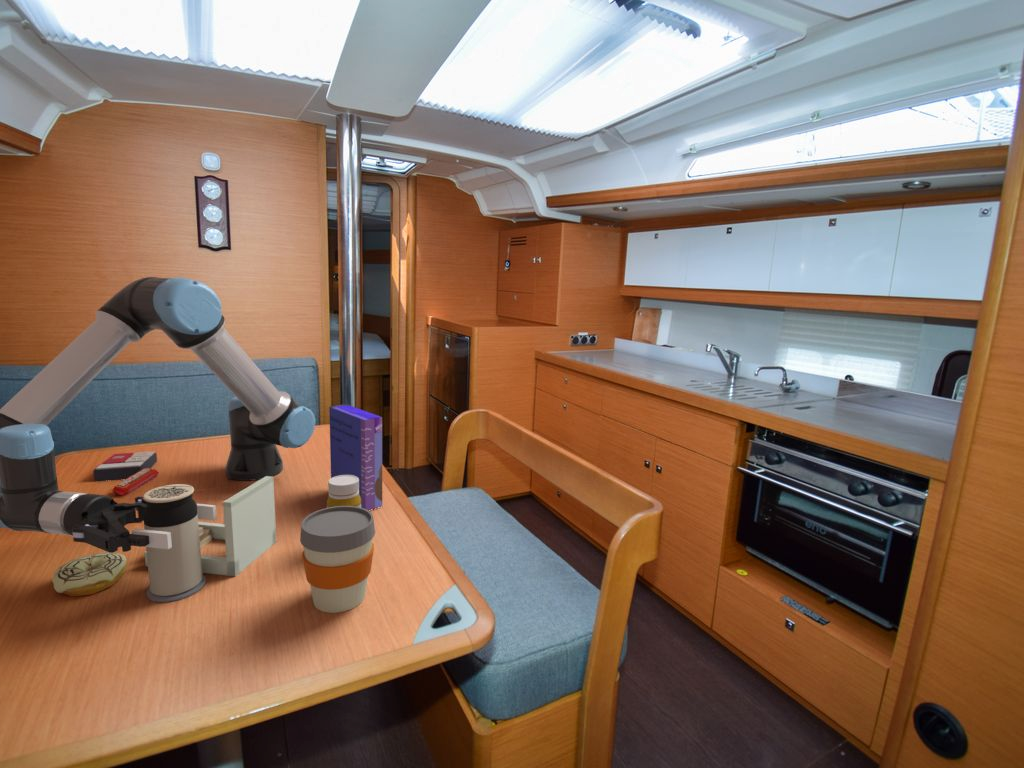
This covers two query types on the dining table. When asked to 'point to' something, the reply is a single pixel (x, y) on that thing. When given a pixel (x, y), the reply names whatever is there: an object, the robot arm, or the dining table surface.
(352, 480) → the bottle
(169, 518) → the travel mug
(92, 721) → the dining table surface
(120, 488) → the candy bar
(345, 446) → the purple rectangular box
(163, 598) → the coaster
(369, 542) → the reusable coffee cup
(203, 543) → the offcut stack
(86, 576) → the decorated donut
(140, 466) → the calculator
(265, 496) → the rack
